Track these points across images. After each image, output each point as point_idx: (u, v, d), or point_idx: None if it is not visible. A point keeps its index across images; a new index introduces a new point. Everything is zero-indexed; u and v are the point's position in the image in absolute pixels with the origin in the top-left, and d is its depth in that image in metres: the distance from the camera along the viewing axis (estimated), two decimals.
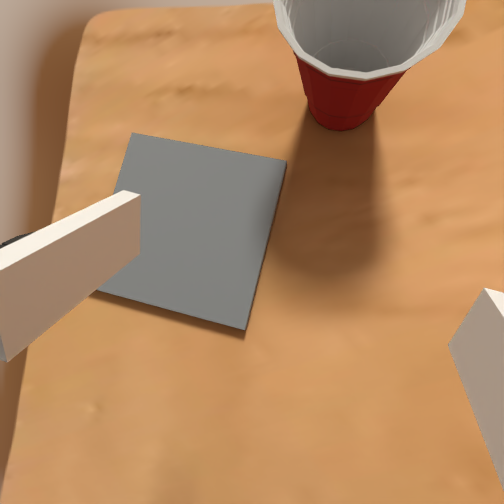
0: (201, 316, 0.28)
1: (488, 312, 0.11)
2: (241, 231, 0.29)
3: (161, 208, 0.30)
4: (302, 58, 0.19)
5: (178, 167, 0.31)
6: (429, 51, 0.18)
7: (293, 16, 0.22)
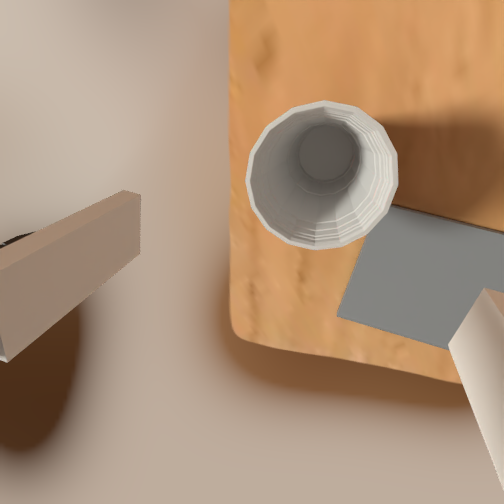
0: None
1: (488, 312, 0.11)
2: (440, 242, 0.34)
3: (406, 300, 0.38)
4: (369, 230, 0.25)
5: (372, 286, 0.38)
6: (385, 135, 0.22)
7: (308, 223, 0.28)
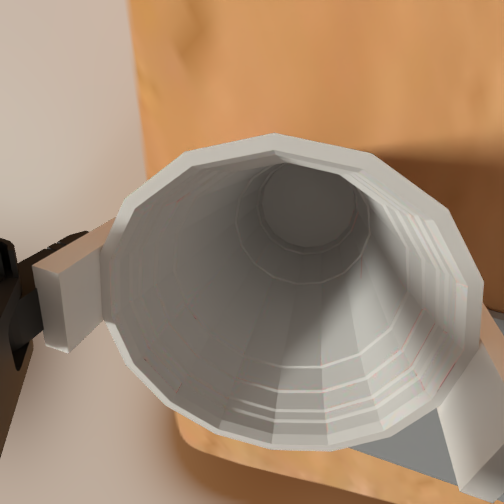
0: None
1: None
2: None
3: (440, 431, 0.24)
4: (396, 428, 0.11)
5: None
6: (453, 233, 0.07)
7: (266, 370, 0.14)
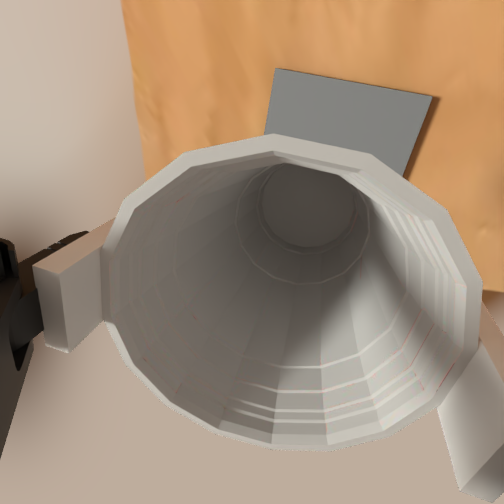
0: (414, 139, 0.33)
1: None
2: (339, 106, 0.33)
3: None
4: (395, 428, 0.11)
5: None
6: (452, 234, 0.08)
7: (265, 370, 0.14)
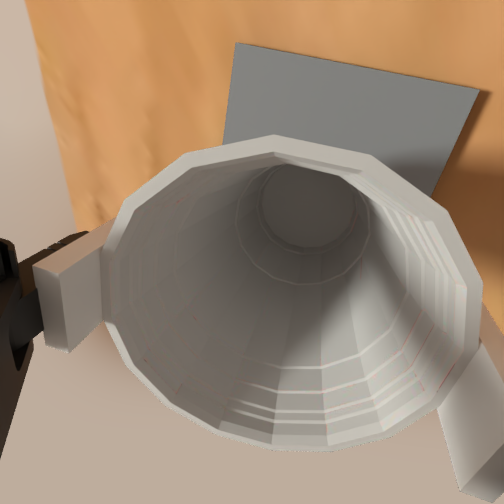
0: (447, 155, 0.21)
1: None
2: (332, 103, 0.22)
3: None
4: (396, 429, 0.11)
5: None
6: (453, 235, 0.08)
7: (265, 371, 0.14)
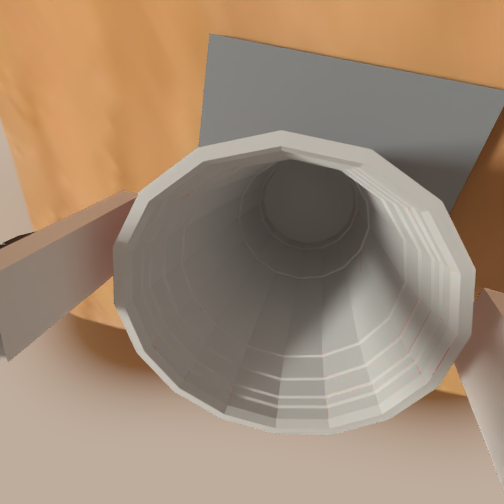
0: (467, 171, 0.17)
1: (488, 312, 0.11)
2: (327, 108, 0.18)
3: None
4: None
5: None
6: (447, 224, 0.08)
7: (269, 359, 0.14)
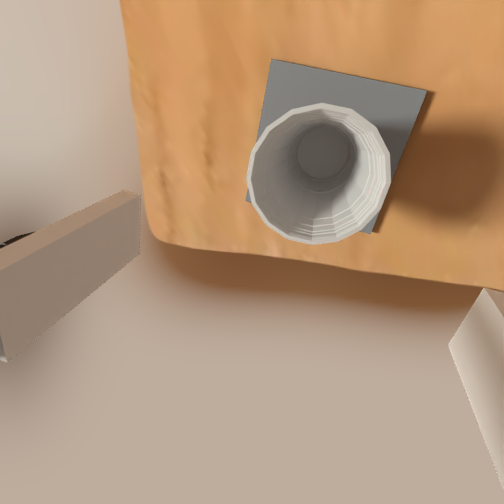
0: (408, 133, 0.33)
1: (488, 312, 0.11)
2: (334, 99, 0.33)
3: None
4: (363, 225, 0.27)
5: None
6: (378, 135, 0.23)
7: (306, 220, 0.30)
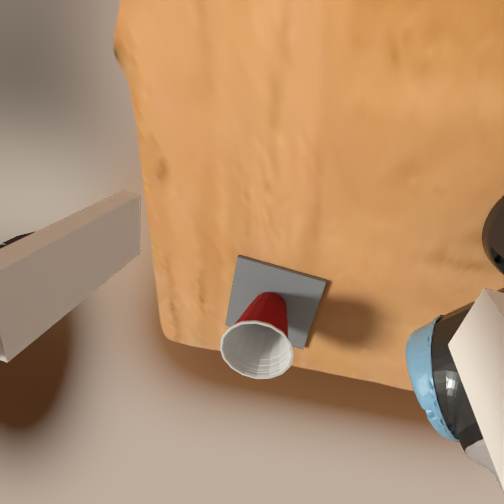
0: (318, 301, 0.56)
1: (488, 312, 0.11)
2: (275, 280, 0.56)
3: None
4: (283, 372, 0.49)
5: (242, 306, 0.60)
6: (284, 336, 0.46)
7: (255, 360, 0.52)
